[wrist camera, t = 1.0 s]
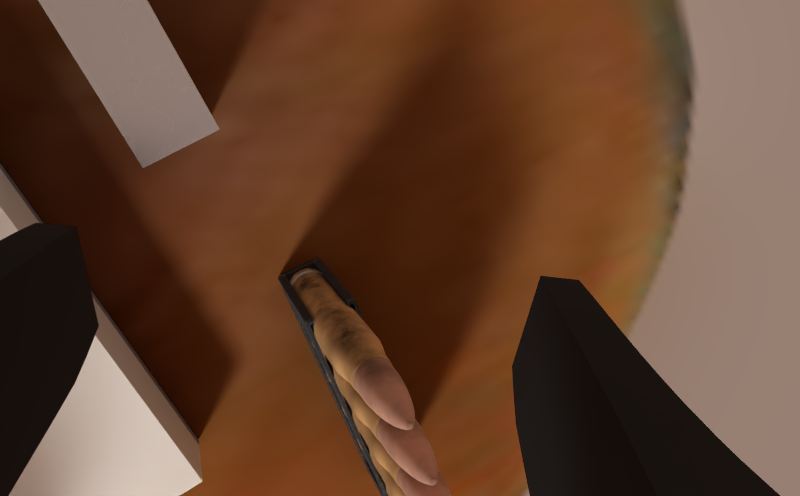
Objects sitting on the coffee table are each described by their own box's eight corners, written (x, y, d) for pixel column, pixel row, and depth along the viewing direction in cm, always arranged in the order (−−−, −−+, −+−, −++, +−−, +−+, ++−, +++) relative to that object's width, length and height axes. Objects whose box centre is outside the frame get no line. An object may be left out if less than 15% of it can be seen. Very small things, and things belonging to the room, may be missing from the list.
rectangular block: (148, 152, 23) (143, 168, 18) (47, -12, 21) (9, -46, 16) (208, 122, 23) (219, 129, 18) (115, -41, 21) (100, -84, 16)
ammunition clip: (404, 454, 29) (546, 667, 18) (369, 474, 29) (493, 705, 18) (318, 256, 26) (431, 376, 15) (277, 276, 25) (361, 414, 14)
